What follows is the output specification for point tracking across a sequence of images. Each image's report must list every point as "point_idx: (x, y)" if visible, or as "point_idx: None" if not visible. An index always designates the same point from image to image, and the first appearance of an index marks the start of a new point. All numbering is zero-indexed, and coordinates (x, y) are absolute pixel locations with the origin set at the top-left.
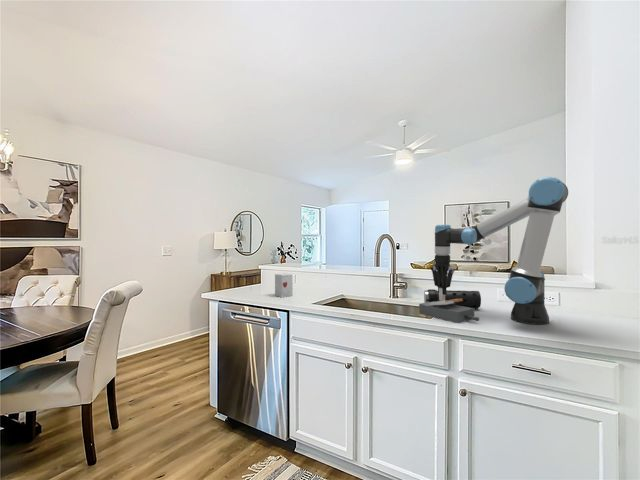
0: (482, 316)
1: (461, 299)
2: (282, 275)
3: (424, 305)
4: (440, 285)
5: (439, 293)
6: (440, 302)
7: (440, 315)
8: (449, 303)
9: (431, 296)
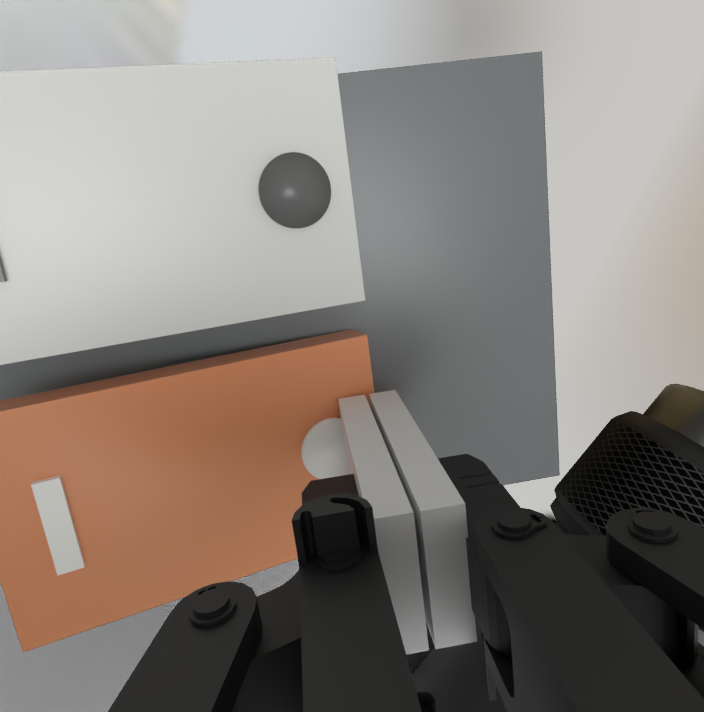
0: (26, 673)
1: (18, 614)
2: None
3: (425, 68)
4: (503, 613)
5: (414, 440)
6: (14, 71)
7: None
8: None
9: (667, 476)
